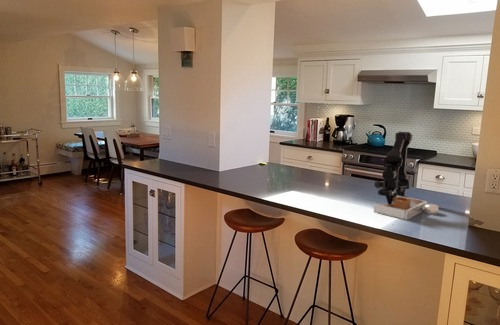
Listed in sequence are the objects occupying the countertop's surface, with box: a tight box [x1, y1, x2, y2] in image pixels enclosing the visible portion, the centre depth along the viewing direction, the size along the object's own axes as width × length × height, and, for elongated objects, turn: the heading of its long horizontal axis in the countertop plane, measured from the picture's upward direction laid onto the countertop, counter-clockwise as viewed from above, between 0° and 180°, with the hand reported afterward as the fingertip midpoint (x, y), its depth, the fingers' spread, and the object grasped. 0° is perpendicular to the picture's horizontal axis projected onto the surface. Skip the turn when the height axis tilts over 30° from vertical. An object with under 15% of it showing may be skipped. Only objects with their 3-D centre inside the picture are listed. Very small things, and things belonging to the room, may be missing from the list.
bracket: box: [380, 197, 411, 210], centre depth 197 cm, size 18×8×7 cm, turn 89°
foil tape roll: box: [423, 203, 439, 215], centre depth 197 cm, size 6×6×4 cm
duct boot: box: [373, 195, 428, 221], centre depth 199 cm, size 26×17×4 cm, turn 136°
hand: (389, 205), depth 203 cm, fingers closed
